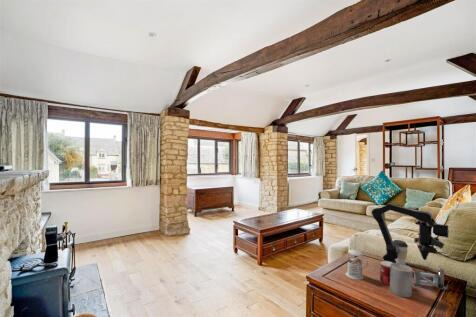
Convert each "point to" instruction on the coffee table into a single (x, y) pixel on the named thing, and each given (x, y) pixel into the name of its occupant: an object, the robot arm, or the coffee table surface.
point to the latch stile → (417, 279)
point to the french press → (354, 272)
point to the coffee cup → (403, 250)
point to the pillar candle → (401, 279)
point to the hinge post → (441, 279)
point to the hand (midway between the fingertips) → (424, 259)
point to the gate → (429, 282)
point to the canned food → (385, 272)
